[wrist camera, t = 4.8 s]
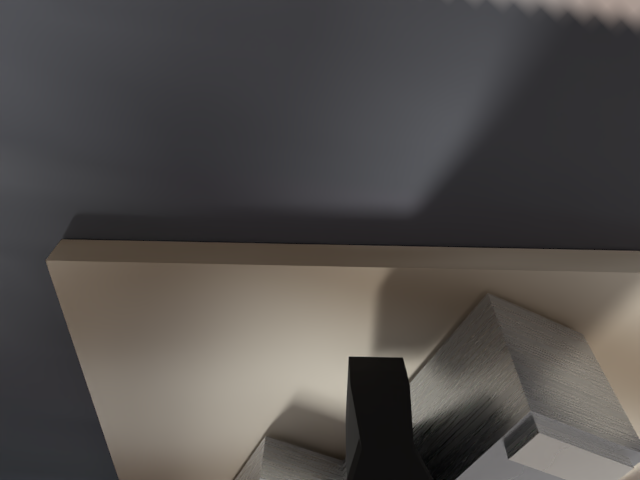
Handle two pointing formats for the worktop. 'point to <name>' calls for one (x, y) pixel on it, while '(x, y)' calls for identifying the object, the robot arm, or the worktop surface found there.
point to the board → (300, 334)
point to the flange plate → (497, 409)
